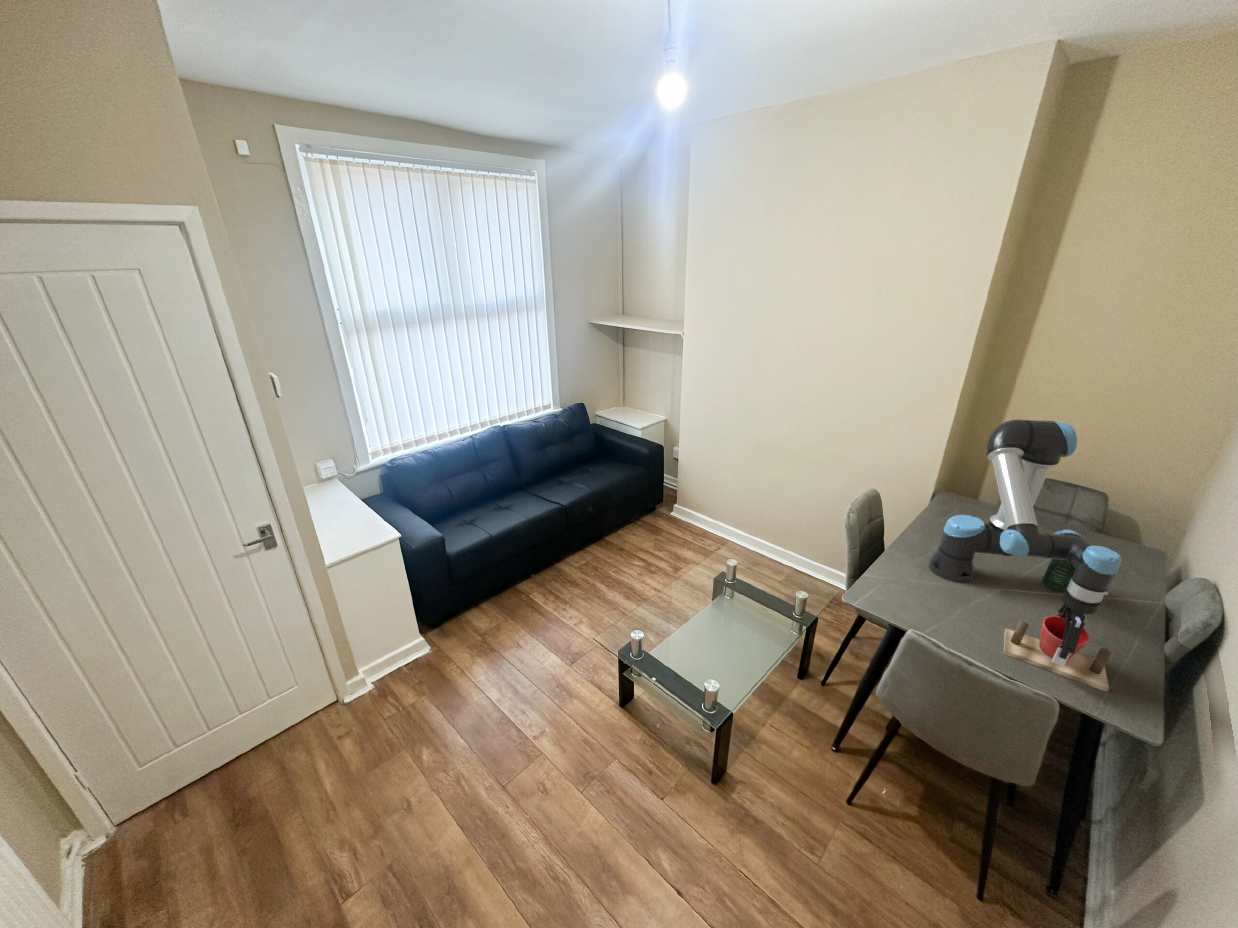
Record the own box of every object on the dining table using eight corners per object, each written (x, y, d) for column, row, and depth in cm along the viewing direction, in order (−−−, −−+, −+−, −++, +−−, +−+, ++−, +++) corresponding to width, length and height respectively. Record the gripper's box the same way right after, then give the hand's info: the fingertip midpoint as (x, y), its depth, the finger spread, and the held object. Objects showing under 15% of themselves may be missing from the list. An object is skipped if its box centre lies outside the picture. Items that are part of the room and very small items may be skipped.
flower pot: (1032, 655, 147) (1043, 634, 142) (1032, 630, 155) (1043, 610, 150) (1077, 671, 142) (1091, 650, 137) (1075, 644, 149) (1087, 624, 144)
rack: (1003, 653, 150) (1013, 631, 146) (1004, 631, 158) (1013, 609, 154) (1107, 692, 136) (1121, 668, 132) (1101, 665, 145) (1114, 642, 141)
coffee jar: (1064, 595, 174) (1084, 553, 166) (1038, 583, 180) (1056, 543, 172) (1073, 585, 179) (1092, 544, 171) (1047, 574, 185) (1064, 534, 177)
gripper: (1106, 626, 126) (1076, 682, 135) (1095, 578, 144) (1069, 630, 152) (1069, 614, 130) (1042, 669, 139) (1063, 569, 148) (1039, 620, 157)
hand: (1056, 649), depth 146 cm, fingers open, 13 cm apart
